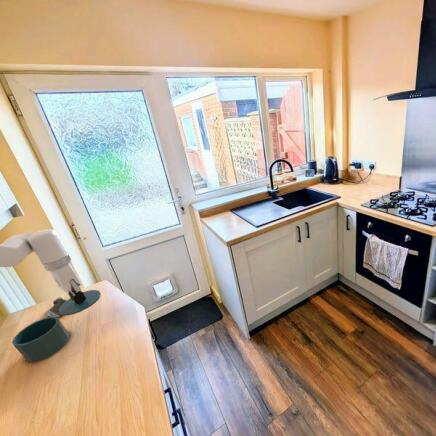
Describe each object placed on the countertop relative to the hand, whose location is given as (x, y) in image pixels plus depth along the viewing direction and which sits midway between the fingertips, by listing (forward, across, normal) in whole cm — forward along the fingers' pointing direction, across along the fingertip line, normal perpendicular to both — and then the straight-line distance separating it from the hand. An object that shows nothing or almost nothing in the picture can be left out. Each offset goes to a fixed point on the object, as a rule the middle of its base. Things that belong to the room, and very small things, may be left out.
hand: (79, 299), depth 98 cm
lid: (+1, 0, 0) cm, 1 cm away
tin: (+11, 0, -14) cm, 18 cm away
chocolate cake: (+11, -20, -5) cm, 23 cm away
